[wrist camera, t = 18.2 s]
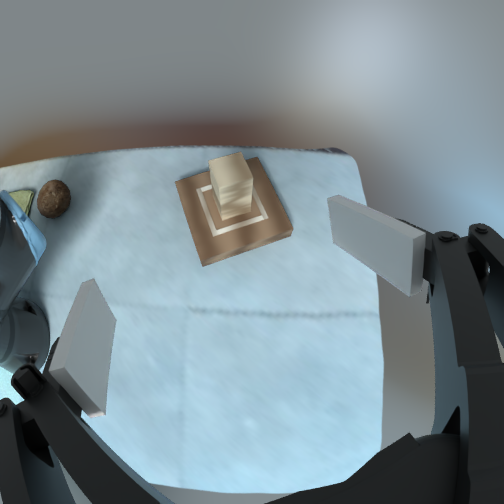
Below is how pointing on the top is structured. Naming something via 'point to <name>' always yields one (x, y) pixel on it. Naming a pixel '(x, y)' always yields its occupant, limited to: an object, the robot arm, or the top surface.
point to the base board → (236, 228)
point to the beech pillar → (231, 185)
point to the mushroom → (53, 199)
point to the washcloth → (23, 199)
